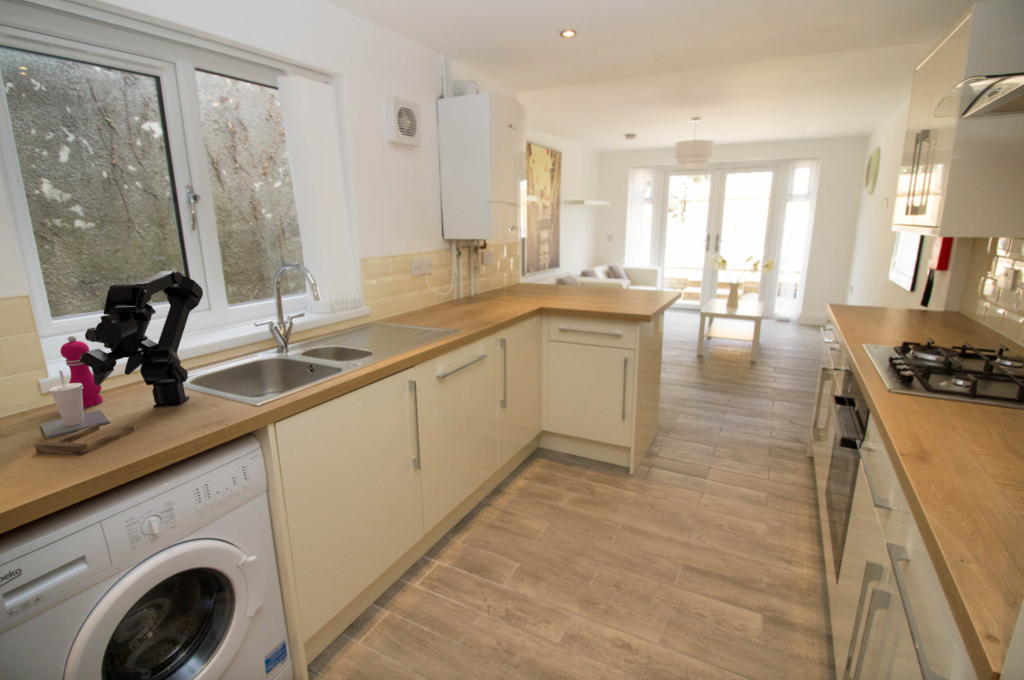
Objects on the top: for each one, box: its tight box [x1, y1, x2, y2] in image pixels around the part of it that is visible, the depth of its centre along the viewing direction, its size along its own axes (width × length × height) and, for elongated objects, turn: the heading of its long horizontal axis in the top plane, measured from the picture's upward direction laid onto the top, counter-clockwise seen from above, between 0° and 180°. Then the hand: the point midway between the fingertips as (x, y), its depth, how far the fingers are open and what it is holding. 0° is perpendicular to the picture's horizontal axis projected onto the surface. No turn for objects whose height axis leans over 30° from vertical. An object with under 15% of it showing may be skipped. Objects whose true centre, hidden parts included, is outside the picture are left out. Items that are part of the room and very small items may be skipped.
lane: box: [34, 425, 135, 456], centre depth 115 cm, size 13×12×2 cm
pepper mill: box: [60, 335, 103, 409], centre depth 138 cm, size 7×7×20 cm
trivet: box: [40, 409, 110, 440], centre depth 125 cm, size 12×12×1 cm
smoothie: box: [48, 370, 85, 426], centre depth 123 cm, size 6×6×14 cm
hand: (112, 379), depth 130 cm, fingers open, 9 cm apart
